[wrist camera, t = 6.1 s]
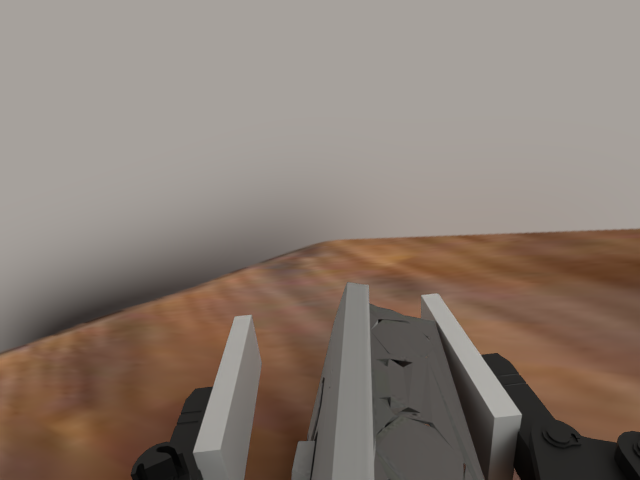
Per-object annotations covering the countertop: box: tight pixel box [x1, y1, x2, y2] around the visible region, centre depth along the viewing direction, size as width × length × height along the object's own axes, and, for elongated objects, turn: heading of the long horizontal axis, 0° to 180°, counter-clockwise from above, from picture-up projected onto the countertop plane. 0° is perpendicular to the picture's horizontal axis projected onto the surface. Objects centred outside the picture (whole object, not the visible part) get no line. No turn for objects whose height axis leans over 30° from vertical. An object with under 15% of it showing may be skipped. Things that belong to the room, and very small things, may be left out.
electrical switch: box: [291, 282, 484, 480], centre depth 12 cm, size 9×5×9 cm, turn 174°
